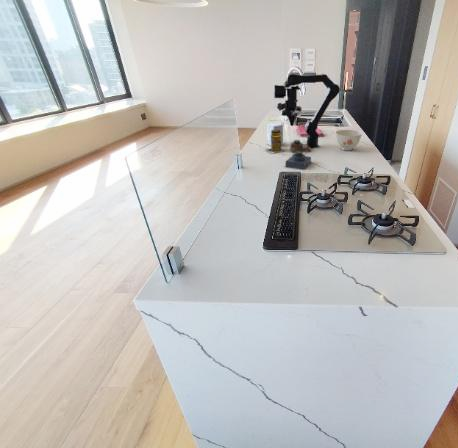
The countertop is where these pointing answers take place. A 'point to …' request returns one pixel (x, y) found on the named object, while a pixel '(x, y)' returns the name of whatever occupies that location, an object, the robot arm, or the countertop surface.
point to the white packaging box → (274, 127)
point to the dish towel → (303, 133)
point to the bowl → (348, 138)
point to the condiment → (275, 141)
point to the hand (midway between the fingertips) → (291, 125)
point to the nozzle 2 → (298, 153)
